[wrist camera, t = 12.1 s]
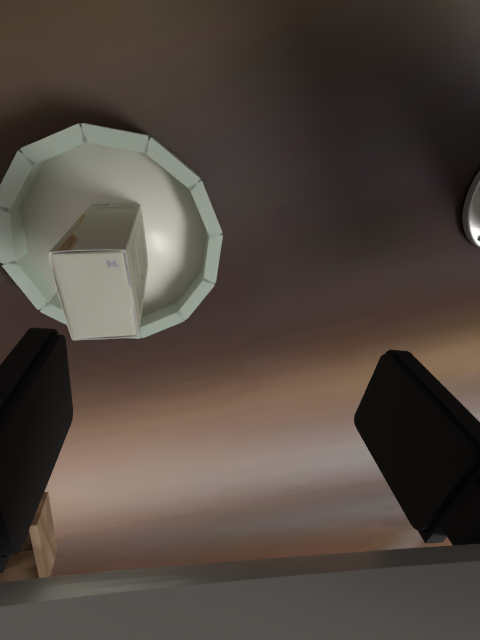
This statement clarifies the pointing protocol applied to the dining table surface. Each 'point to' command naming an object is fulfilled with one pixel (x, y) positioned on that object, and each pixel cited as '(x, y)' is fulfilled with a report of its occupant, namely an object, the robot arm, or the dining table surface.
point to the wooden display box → (34, 549)
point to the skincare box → (102, 272)
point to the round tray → (110, 188)
